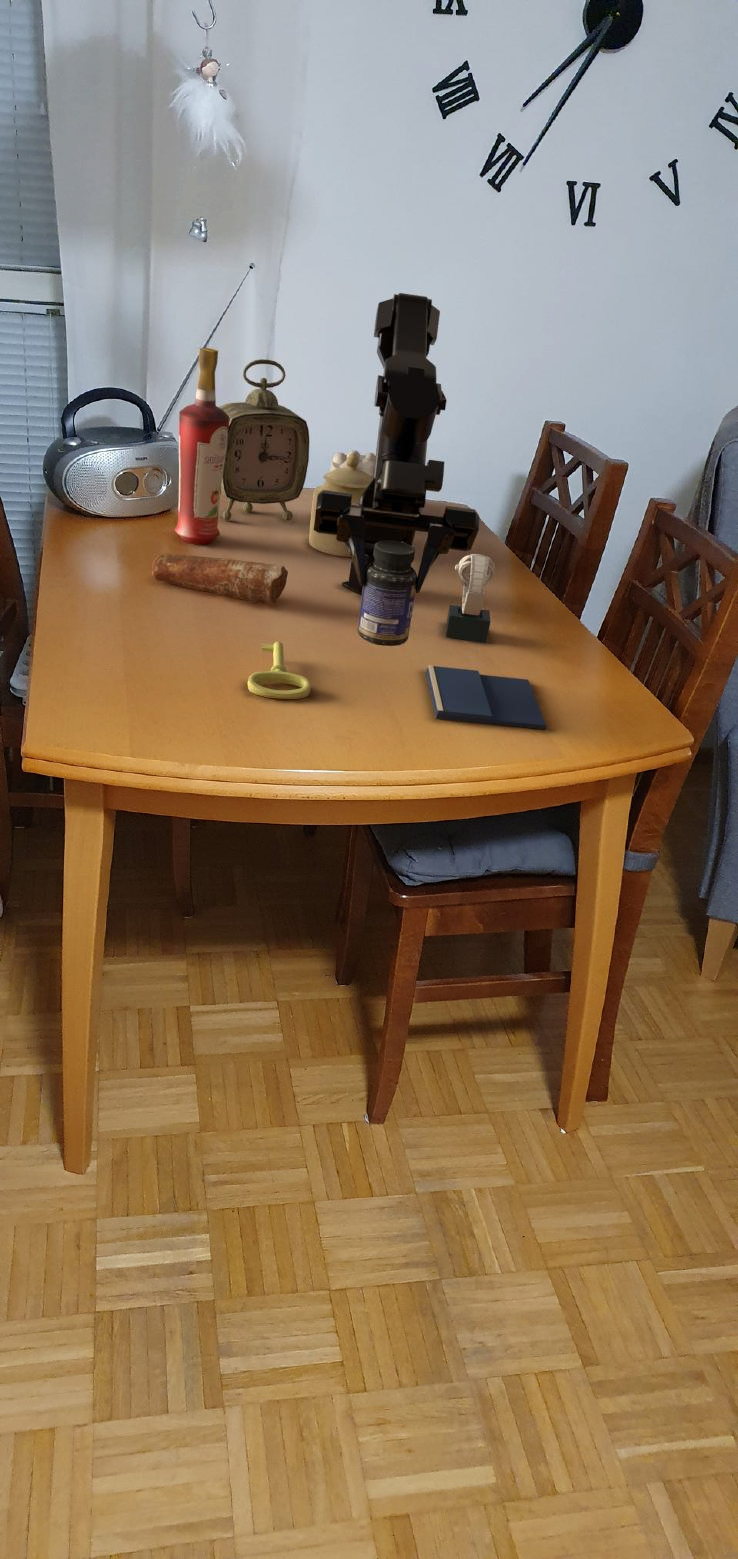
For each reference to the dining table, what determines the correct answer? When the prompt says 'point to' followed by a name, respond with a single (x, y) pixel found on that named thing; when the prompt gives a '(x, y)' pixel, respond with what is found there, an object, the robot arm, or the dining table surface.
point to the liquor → (201, 457)
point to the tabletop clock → (264, 449)
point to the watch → (471, 600)
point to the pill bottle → (388, 595)
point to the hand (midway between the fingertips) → (389, 588)
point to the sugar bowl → (338, 482)
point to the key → (278, 677)
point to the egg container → (364, 465)
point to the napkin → (483, 698)
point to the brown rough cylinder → (223, 576)
